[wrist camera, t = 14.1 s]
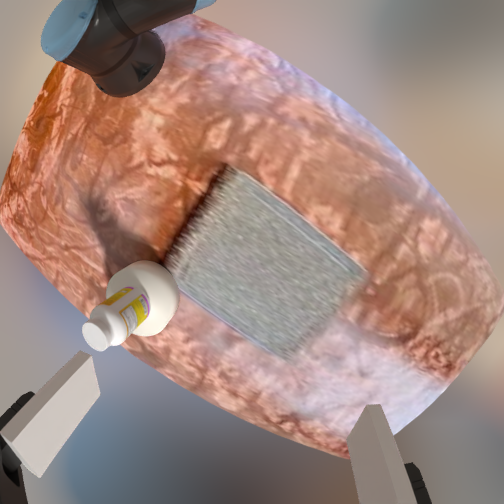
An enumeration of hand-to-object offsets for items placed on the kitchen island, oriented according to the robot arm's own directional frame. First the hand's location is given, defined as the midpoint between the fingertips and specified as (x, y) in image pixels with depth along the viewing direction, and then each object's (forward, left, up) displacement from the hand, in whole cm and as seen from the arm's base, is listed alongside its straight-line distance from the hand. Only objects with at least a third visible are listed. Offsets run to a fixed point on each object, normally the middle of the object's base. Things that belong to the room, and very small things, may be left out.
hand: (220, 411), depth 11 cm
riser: (+8, -22, -37) cm, 44 cm away
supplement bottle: (+8, -22, -31) cm, 39 cm away
